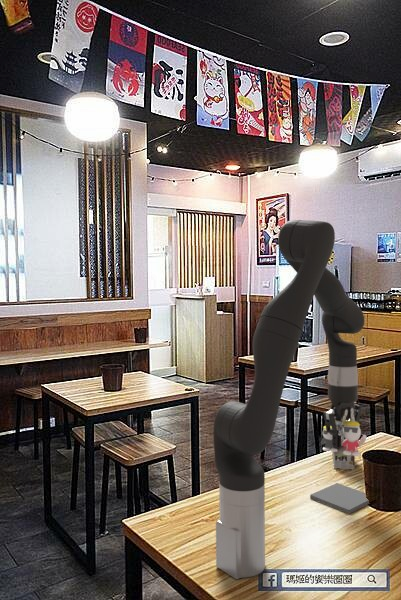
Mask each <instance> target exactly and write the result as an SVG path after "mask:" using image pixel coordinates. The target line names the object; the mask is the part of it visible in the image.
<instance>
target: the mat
mask: <svg viewBox="0 0 401 600" xmlns="http://www.w3.org/2000/svg"><path fill="white" fill-rule="evenodd" d="M365 493H366V492H364V491H361V490H358V489H356V488H352V487H349V486H347V485H345V484H341V483H339V482H337V483H334V484H332V485H330V486H327V487H325V488H323V489H320V490H318V491H316V492H313V493H311V494H310V495H309V496H310V497H309V498H310V499H311V500H313V501H315V502H318V503H321V504H323V505H325V506H328V507H331V508H333V509H335V510H338V511H340V512H343V513H346V514H347V515H350V514H351V513H354V512H356V511H358V510H360V509H362V508H363V507H365V506H367V505H369V504H370V503H369V500H368V499H367V498H366V495H365Z"/></svg>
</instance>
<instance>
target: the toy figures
mask: <svg viewBox="0 0 401 600" xmlns="http://www.w3.org/2000/svg"><path fill="white" fill-rule="evenodd" d="M360 426H361V424H360V422H359V423H358V422H356V421H346V422H345V426H344V428H343V434H344V437H345V438H346V439H345V440H344V441H343V444H342V445H343V446H344V447H346V446H347V448H346V450H345V451H344V452H343V454H345V455H351V454H352V455H354V456H355V457H361V456H362V453H361V452H359V450H358V448H361V447H362V446H363V444H365V443H366V440H367V435H366V434H363V435H362V430H361V428H360ZM330 428H331V426H330ZM361 435H362V436H361ZM360 437H361V438H360ZM341 439H342V436H341ZM319 443H320V444H321V445H322V446H323V447H322V450H323V451H324V452H328V451H330V452H332V453H333V452H337V449H335V448H333V445H332V443H333V442H332V434H331V433H328V432H327V430H326V425H324V426H323V430H322V439H321V441H320V442H319ZM350 450H353V453H351V451H350Z"/></svg>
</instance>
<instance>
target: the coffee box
mask: <svg viewBox="0 0 401 600" xmlns="http://www.w3.org/2000/svg"><path fill="white" fill-rule="evenodd" d="M354 419H355V417H354ZM336 422H338V423H340V421H336ZM336 428H337V430H338V425H336ZM343 428H344V427H342V432H341V436H342V439H341V449H339V450H338V449H337V452H332V464H334V465H333V469H336V468H340V470H349V469H352V471H354V470H355V463H356V462H355V459H356V458H355V457H356V456H354V455H352V454H351V455H345V454H343V452H344V451H345V450H346V448H347V446H346V447H344V446H343V445H342V444H343V441H344V434H343ZM350 451H351V453H353V450H350ZM353 469H354V470H353Z"/></svg>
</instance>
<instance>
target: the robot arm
mask: <svg viewBox="0 0 401 600" xmlns="http://www.w3.org/2000/svg"><path fill="white" fill-rule="evenodd" d="M335 238H336V236H335V228H334V227H333V225H332V224H331V223H330V222H328V221H321V220H307V219H306V220H305V219H291V220H288V221H286V222H285V223H283V224H282V226H281V228H280V230H279V232H278V238H277V245H278V249H279V252H280V254H281V256H282V257H283V258H284V260H285V261H286V262H287V263H288V264H289V266H290V267H292V269H293V270H294V271H295V272H296V274H295V275H294V277H293V279H292V280H291V281H290V282H289V283H288V284H287V285H286V286H285V287H284V288H283V289H282V290H281V291H280V292H278V293H277V294H276V295H275V296H274V297H273V298H272V299H271V300H270V301H269V302H268V303H267V305H265V307H264V308H263V309H262V312H261V314H260V316H259V318H258V321H257V323H256V324H257V325H256V328H255V330H254V333H253V338H252V355H253V365H254V380H253V381H254V382H253V387H252V389H251V393H250V395H249V397H248V398H249V399H248V401H247V403H243V402H239V401H236V400H235V401H233V400H232V401H228V402H225V403H223V405H221V406H220V407H219V409H218V410H217V413H216V414H215V417H214V422H213V449H214V450H213V451H214V453H213V454H214V464H215V465H214V466H215V468H216V472H217V474H218V482H219V483H218V485H219V486H218V487H219V488H218V489H219V494H218V495H219V496H218V497H219V499H218V500H219V503H218V504H219V519H218V520H216V522H215V558H216V559H215V564H216V568H218V569H219V570H221V571H222V572H224V573H226V574H227V575H228V576H230V577H232V578H233V579H235V580H239V579H241V578H251V577H254V576H255V577H256V576H258V575H259V574H261V573H263V571H264V570H265V568H266V527H265V526H266V524H265V523H266V518H265V517H266V515H265V513H266V511H265V509H266V508H265V507H266V505H265V503H266V501H265V497H266V496H265V492H266V491H265V489H266V488H265V487H266V486H265V483H266V482H265V481H266V480H265V479H266V478H265V474H266V473H265V469H264V468H263V466H262V465H261V463H259V462H258V460H257V459H256V458H255V456H257V455H260V454H261V453H262V452H263V451H264V450H265V449H266V447H268V445H269V444H270V441H271V439H272V436H273V433H274V431H275V426H276V421H277V417H278V412H279V408H280V405H281V404H280V403H281V400H282V395H283V391H284V387H285V383H286V381H287V378H288V374H289V371H290V368H291V365H292V361H293V358H294V355H295V352H296V350H297V348H298V345H299V341H300V340H301V335H302V333H303V330H304V327H305V322H306V320H307V316H308V313H309V310H310V308H311V307H310V306H311V304H312V301H313V298H315V299H316V301H317V303H318V305H319V307H320V308H321V310H322V316H321V323H322V327H323V330H324V334H325V338H326V341H327V346H328V347H327V348H328V371H327V377H328V378H327V398H328V400H329V401H330V402H331V405H330V409H329V410H328V411H325V410H324V411H323V421H324V426H326V430H327V432H328V433H331V434H332V442H333V443H332V445H333V448H335V449H338V450H339V449H341V432H342V427H344V426H345V422H346V421H356V422H358V423H359V424H360V418H361V413H362V412H361V411H362V405H359V404H357V403H356V402H357V401H358V398H359V397H358V396H359V389H358V387H359V384H358V383H359V375H358V374H359V373H358V365H357V363H358V362H357V361H358V360H357V359H358V356H357V355H358V354H357V353H358V351H357V350H358V349H357V345H356V344H354V343H352V342H349V341H346V340H343V339H342V338H341V336H340V334H349V335H350V334H351V335H352V334H358V333H360V332H361V330H362V329H363V328H364V326H365V316H364V313H363V311H362V308H360V306H359V305H358V304H357V303H356V302H355V301H354V300H353V299H352V298H351V297H349V296H348V295H347V292H346V290H345V288H344V286H343V283H342V282H341V280H340V279H339V278H338V277H337V276H336V275H335V274H334V273H333V272H331V271H330V270H329V269H328V268H327V266H328V263H329V261H330V259H331V256H332V253H333V251H334V250H333V249H334V246H335ZM355 403H356V404H355ZM354 417H355V419H354ZM336 421H340V423H338V422H336ZM336 425H338V430H337V428H336ZM330 426H331V428H330ZM345 439H346V438H345V437H344V440H345Z"/></svg>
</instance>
